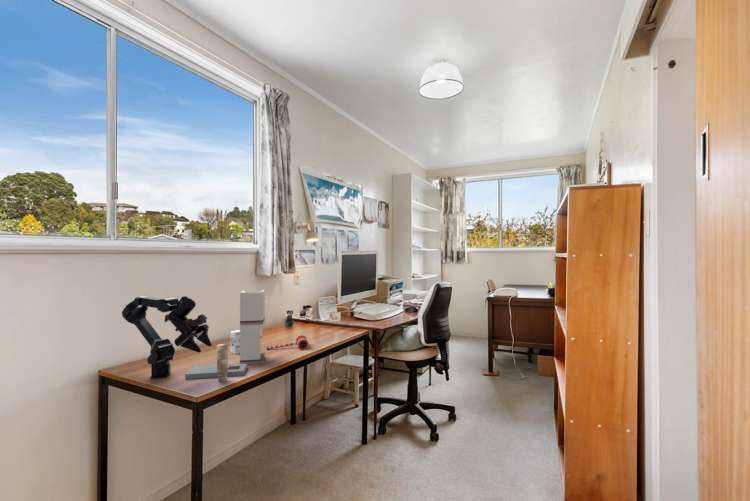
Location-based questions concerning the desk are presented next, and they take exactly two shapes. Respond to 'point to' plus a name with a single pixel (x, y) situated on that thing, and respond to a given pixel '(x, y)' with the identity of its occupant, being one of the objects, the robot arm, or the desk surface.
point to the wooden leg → (222, 361)
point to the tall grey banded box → (251, 326)
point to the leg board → (215, 371)
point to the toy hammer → (295, 343)
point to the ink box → (235, 342)
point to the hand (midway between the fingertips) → (205, 348)
